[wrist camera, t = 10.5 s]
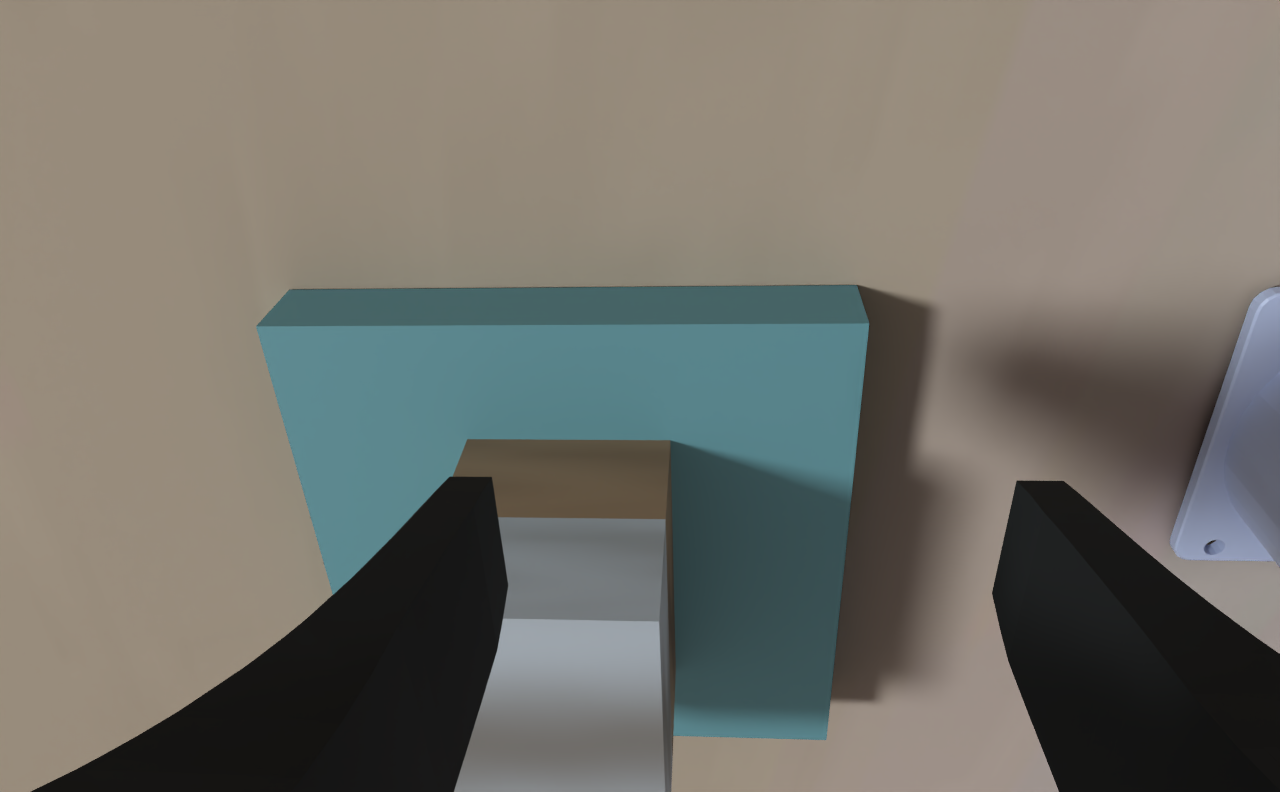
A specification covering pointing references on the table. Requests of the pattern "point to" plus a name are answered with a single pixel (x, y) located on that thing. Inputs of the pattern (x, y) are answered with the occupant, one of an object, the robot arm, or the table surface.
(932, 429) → the table surface
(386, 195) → the table surface
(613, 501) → the block
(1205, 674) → the robot arm
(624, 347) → the teal stand
